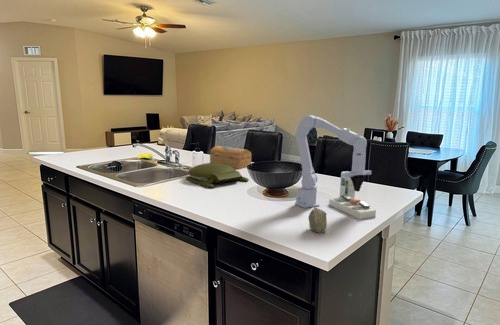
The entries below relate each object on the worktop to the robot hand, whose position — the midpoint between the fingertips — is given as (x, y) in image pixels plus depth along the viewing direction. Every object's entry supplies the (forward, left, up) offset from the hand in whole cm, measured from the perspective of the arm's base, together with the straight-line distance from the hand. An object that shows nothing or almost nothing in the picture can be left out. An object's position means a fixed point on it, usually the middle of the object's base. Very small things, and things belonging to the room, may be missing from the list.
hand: (356, 190), depth 162 cm
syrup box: (+8, +16, -10) cm, 20 cm away
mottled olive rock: (-31, -13, -10) cm, 35 cm away
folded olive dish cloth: (-42, +83, -10) cm, 94 cm away
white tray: (-2, +1, -10) cm, 10 cm away
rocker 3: (0, +7, -5) cm, 8 cm away
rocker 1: (0, +1, -5) cm, 5 cm away
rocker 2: (0, -5, -5) cm, 7 cm away
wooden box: (-16, +122, -10) cm, 123 cm away
